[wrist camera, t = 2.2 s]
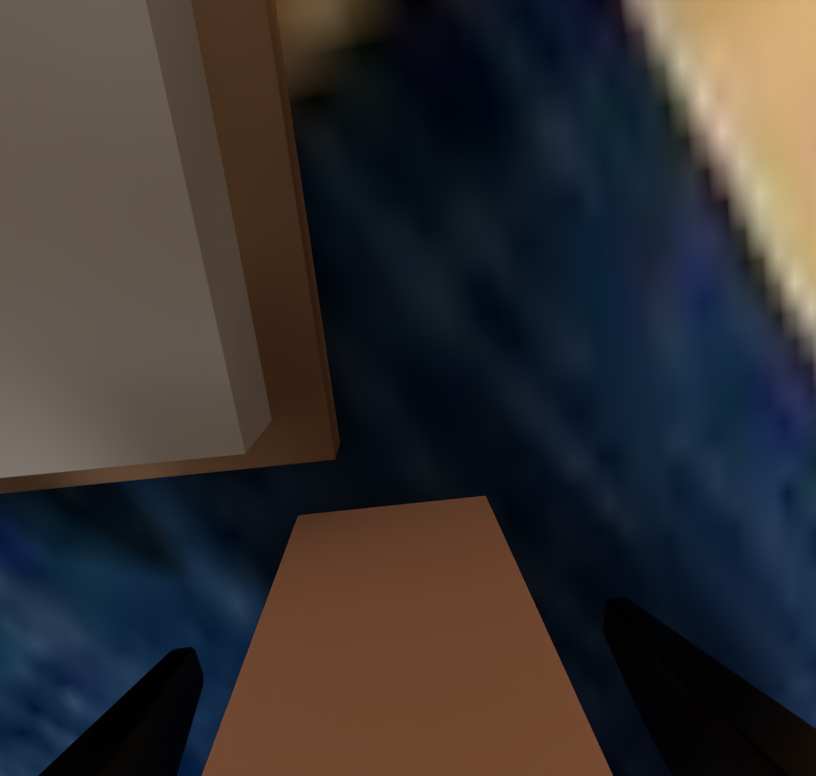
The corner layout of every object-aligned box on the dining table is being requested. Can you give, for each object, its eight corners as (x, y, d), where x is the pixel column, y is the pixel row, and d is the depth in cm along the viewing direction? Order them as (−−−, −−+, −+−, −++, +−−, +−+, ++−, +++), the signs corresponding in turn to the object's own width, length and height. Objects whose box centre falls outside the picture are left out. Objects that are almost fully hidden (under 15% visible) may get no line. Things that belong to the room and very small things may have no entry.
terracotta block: (485, 494, 9) (651, 859, 3) (489, 638, 10) (615, 1079, 5) (298, 514, 9) (144, 927, 3) (325, 657, 10) (249, 1133, 5)
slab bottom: (265, -117, 6) (229, -232, 5) (343, 431, 9) (335, 459, 8) (-360, -81, 6) (-589, -191, 5) (-83, 474, 9) (-172, 511, 7)
